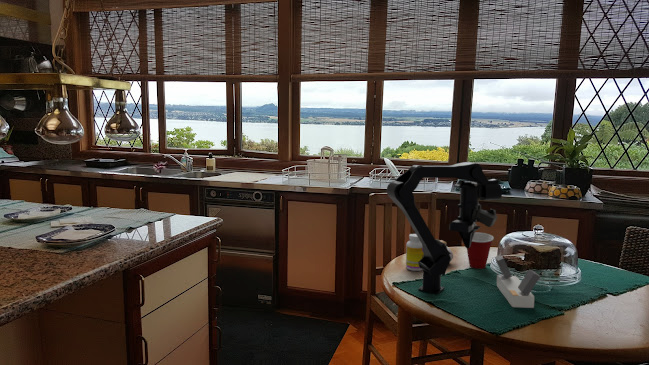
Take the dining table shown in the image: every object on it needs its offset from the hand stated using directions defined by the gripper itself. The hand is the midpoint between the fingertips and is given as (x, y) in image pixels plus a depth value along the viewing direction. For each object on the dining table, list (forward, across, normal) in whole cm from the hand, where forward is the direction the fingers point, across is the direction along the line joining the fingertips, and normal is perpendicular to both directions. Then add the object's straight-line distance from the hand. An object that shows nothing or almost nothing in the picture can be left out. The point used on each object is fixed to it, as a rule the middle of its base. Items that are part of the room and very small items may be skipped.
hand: (467, 248), depth 146 cm
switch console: (+13, 0, -15) cm, 20 cm away
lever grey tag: (+10, +6, -12) cm, 16 cm away
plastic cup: (+13, +23, +4) cm, 27 cm away
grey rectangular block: (+10, -6, -18) cm, 22 cm away
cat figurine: (+13, +20, +20) cm, 31 cm away
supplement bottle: (+13, +7, +22) cm, 27 cm away
